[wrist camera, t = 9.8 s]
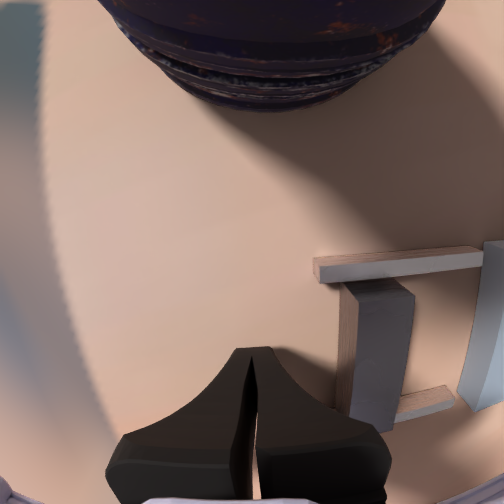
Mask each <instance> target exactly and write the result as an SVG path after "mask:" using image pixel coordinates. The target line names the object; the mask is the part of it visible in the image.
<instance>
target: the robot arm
mask: <svg viewBox="0 0 504 504" xmlns="http://www.w3.org/2000/svg"><path fill="white" fill-rule="evenodd" d="M257 413H258V415H257ZM256 419H257V433H256V445H255V448H256V457H257V465H258V474H259V482H260V491H261V499H259V500H253V485H252V460H253V449H254V439H255V429H256ZM391 461H392V458H391V455H390V452H389V449H388V447H387V445H386V443H385V442H384V440H383V439H382V437H381V436H380V434H379V433H378V431H377V430H376V428H375V427H374V426H373V425H372V424H369V423H366V422H363V421H360V420H357V419H353V418H350V417H348V416H346V415H343V414H341V413H339V412H337V411H335V410H333V409H331V408H329V407H327V406H326V405H324V404H322V403H321V402H319V401H317V400H316V399H315V398H313V397H312V396H311V395H309V394H308V393H307V392H306V391H304V390H303V389H302V388H301V387H300V386H299V385H298V384H297V383H296V382H295V381H294V380H293V379H292V378H291V376H290V375H289V374H288V373H287V372H286V370H285V369H284V368H283V367H282V365H281V364H280V362H279V361H278V359H277V358H276V356H275V354H274V352H273V350H272V348H271V347H269V346H266V347H250V348H236V349H235V350H234V352H233V353H232V355H231V357H230V358H229V360H228V361H227V363H226V364H225V365H224V367H223V368H222V369H221V371H220V372H219V373H218V375H217V376H216V377H215V378H214V379H213V381H212V382H211V383H210V384H209V385H208V386H207V387H206V388H205V389H204V390H203V391H202V392H201V393H200V394H199V395H198V396H197V397H196V398H194V399H193V400H192V401H191V402H189V403H188V404H186V405H185V406H184V407H182V408H181V409H179V410H178V411H176V412H175V413H173V414H171V415H170V416H168V417H166V418H164V419H162V420H160V421H158V422H156V423H154V424H152V425H149V426H147V427H144V428H142V429H139V430H136V431H133V432H130V433H127V434H124V435H123V437H122V438H121V440H120V442H119V443H118V445H117V447H116V449H115V451H114V453H113V455H112V457H111V459H110V462H109V464H108V466H107V468H106V473H105V474H106V475H105V477H106V480H107V482H108V484H109V486H110V488H111V489H112V491H113V492H114V494H115V495H116V497H117V498H118V500H119V502H120V503H121V504H386V503H385V501H386V500H387V494H386V492H385V489H384V485H385V482H386V479H387V476H388V473H389V470H390V467H391ZM0 504H44V503H41V502H39V501H36V500H34V499H31V498H29V497H26V496H24V495H21V494H19V493H17V492H15V491H13V490H12V489H11V487H10V485H9V484H8V483H7V482H6V480H5V479H4V478H3V477H1V476H0ZM436 504H504V473H502V474H500V475H499V476H497V477H495V478H493V479H491V480H489V481H487V482H485V483H483V484H481V485H479V486H476V487H474V488H472V489H470V490H468V491H466V492H463V493H461V494H459V495H456V496H454V497H451V498H449V499H446V500H444V501H441V502H439V503H436Z"/></svg>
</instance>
